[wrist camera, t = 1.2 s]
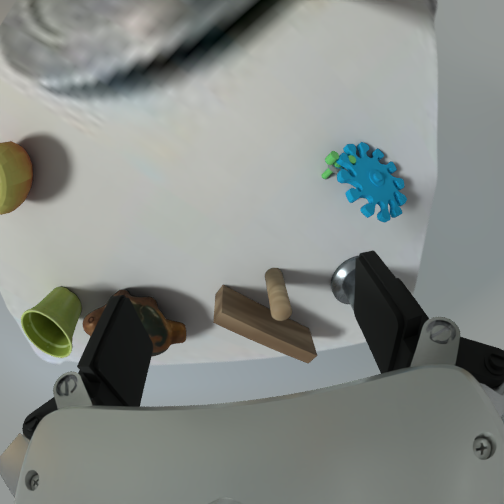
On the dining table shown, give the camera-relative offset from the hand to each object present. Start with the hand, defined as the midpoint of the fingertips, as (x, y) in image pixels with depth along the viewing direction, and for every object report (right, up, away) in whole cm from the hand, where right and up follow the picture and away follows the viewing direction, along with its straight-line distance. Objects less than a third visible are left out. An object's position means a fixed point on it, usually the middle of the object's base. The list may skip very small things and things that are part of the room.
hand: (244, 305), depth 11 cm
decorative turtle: (-17, -7, +30) cm, 35 cm away
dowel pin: (+3, -1, +28) cm, 29 cm away
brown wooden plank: (+2, -7, +32) cm, 32 cm away
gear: (+13, +12, +22) cm, 29 cm away
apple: (-33, +14, +19) cm, 40 cm away
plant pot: (-30, -6, +29) cm, 43 cm away
